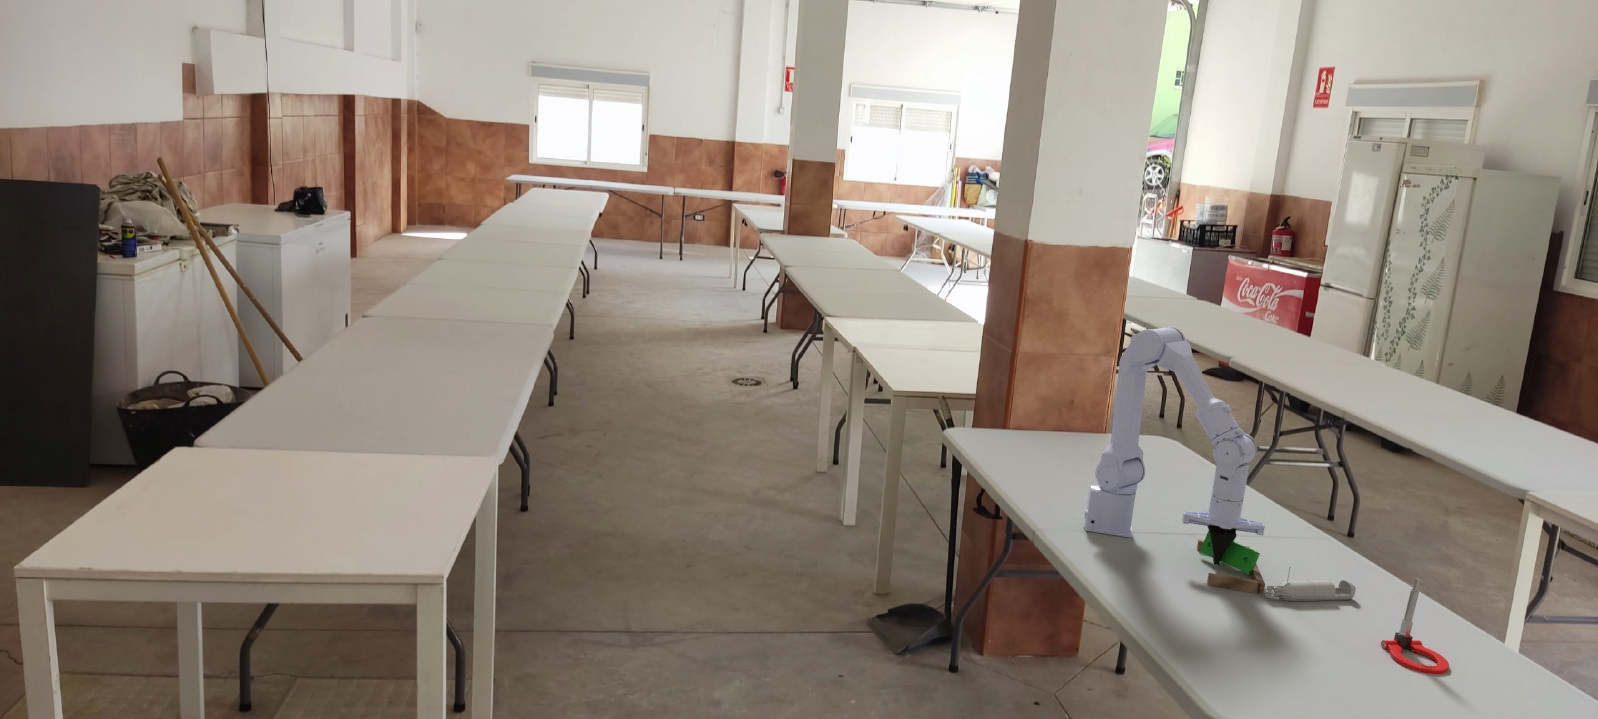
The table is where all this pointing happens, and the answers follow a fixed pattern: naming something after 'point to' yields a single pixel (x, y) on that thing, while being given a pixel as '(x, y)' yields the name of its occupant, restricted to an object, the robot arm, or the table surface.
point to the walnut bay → (1236, 579)
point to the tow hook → (1413, 641)
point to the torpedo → (1311, 590)
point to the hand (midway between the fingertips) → (1216, 563)
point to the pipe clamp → (1234, 555)
